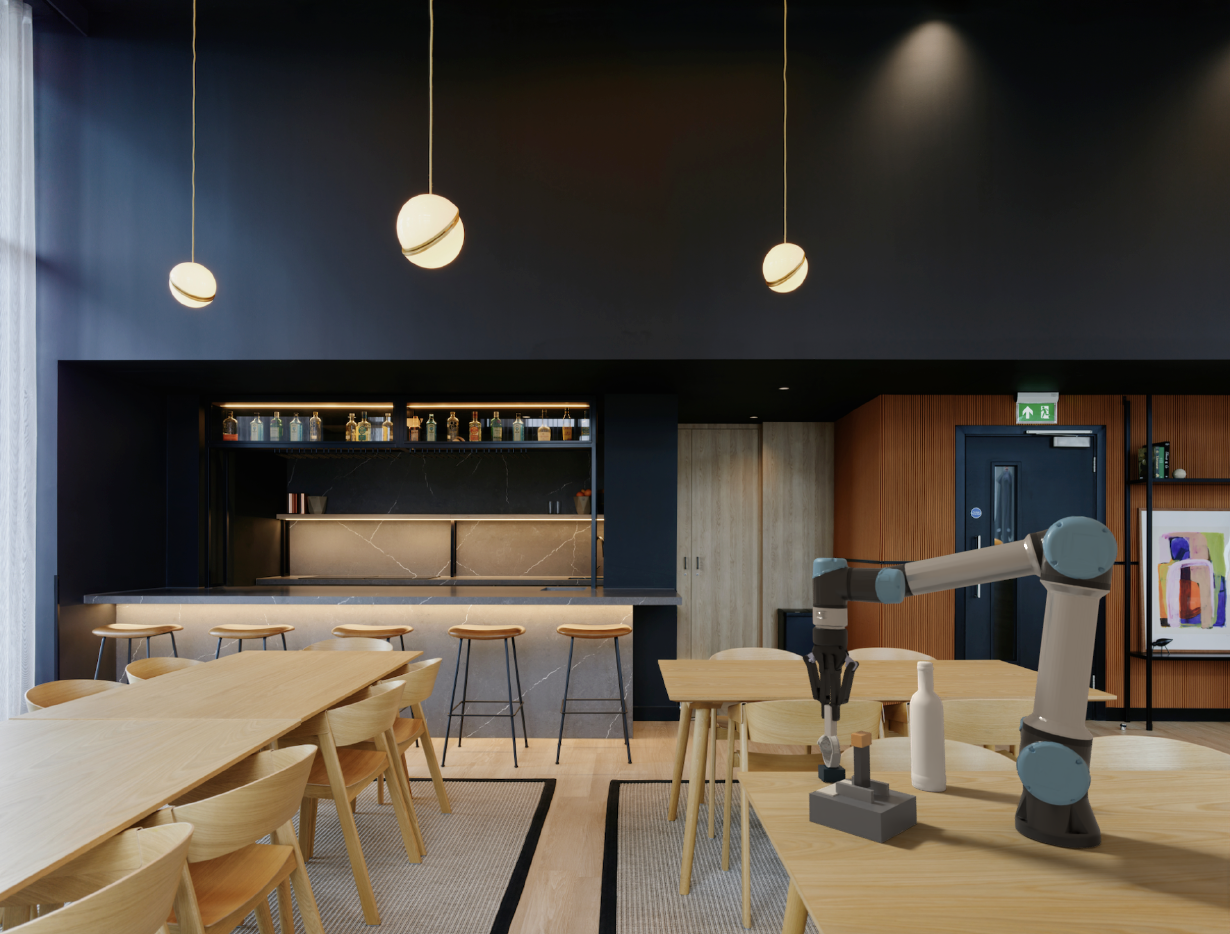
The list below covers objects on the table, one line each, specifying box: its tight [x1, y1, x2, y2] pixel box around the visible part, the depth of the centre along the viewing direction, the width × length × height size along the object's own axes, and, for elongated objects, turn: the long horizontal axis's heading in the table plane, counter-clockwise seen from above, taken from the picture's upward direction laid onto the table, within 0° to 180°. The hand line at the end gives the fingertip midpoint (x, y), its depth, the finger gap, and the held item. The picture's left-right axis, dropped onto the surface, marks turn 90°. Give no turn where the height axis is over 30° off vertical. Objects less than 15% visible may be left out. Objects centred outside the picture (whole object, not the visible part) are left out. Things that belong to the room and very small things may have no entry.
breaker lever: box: [850, 730, 873, 788], centre depth 157 cm, size 2×4×11 cm, turn 134°
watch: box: [816, 733, 847, 784], centre depth 186 cm, size 6×8×11 cm
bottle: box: [909, 660, 947, 793], centre depth 182 cm, size 8×8×30 cm
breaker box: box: [808, 774, 918, 844], centre depth 156 cm, size 16×16×8 cm
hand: (830, 735), depth 163 cm, fingers closed
